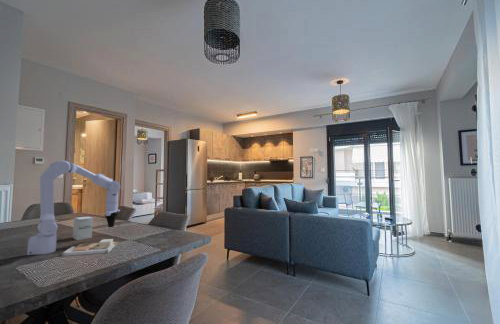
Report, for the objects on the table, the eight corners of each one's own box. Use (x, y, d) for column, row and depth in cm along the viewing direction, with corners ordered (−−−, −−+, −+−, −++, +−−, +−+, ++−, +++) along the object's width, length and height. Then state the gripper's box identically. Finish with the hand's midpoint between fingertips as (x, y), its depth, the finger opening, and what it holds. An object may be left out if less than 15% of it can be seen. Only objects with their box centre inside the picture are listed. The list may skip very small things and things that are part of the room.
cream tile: (98, 246, 115) (99, 242, 115) (102, 243, 119) (102, 239, 120) (110, 245, 116) (110, 241, 116) (112, 242, 121) (113, 238, 121)
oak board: (72, 251, 109) (72, 249, 109) (80, 246, 118) (80, 243, 118) (114, 248, 115) (114, 246, 115) (118, 243, 123) (119, 241, 123)
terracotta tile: (73, 254, 105) (73, 250, 105) (77, 251, 109) (78, 246, 109) (85, 253, 106) (85, 249, 106) (89, 250, 111) (90, 246, 111)
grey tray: (61, 258, 100) (61, 253, 100) (71, 251, 109) (72, 246, 109) (107, 255, 105) (108, 249, 105) (114, 248, 114) (114, 243, 114)
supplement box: (76, 242, 125) (78, 219, 126) (72, 240, 129) (73, 217, 130) (92, 239, 131) (93, 217, 132) (87, 237, 135) (88, 216, 136)
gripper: (116, 203, 121) (115, 229, 120) (123, 200, 135) (122, 223, 134) (101, 203, 119) (100, 230, 118) (110, 201, 133) (108, 224, 132)
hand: (111, 226), depth 126 cm, fingers closed
